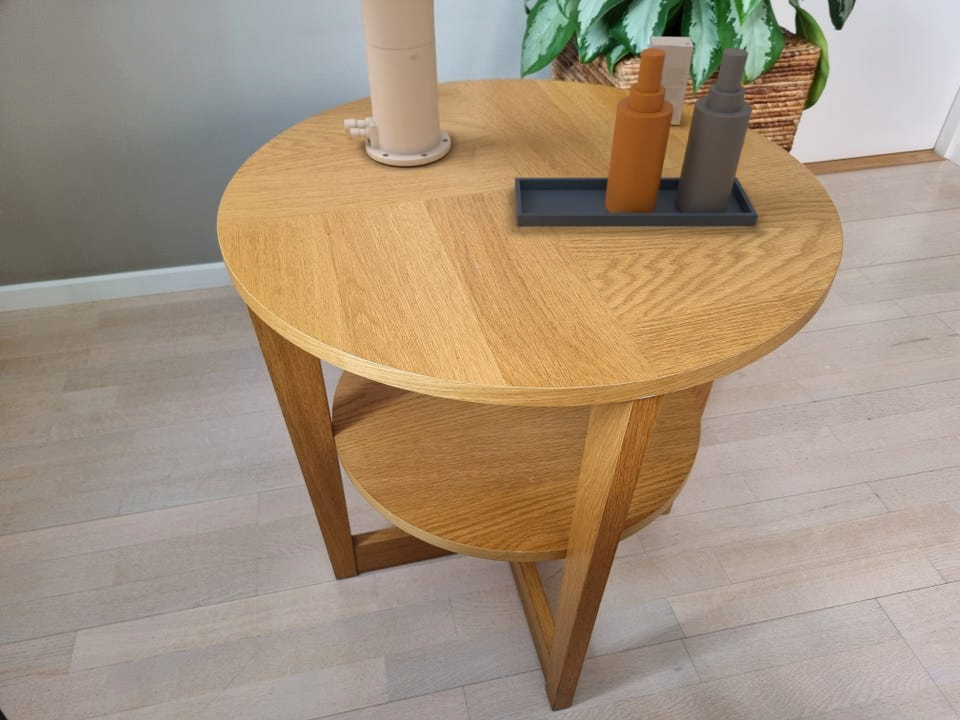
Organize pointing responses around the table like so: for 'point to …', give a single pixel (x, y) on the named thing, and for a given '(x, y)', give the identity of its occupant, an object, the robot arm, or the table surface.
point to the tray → (587, 208)
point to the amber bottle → (640, 140)
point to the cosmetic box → (675, 70)
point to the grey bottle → (715, 140)
